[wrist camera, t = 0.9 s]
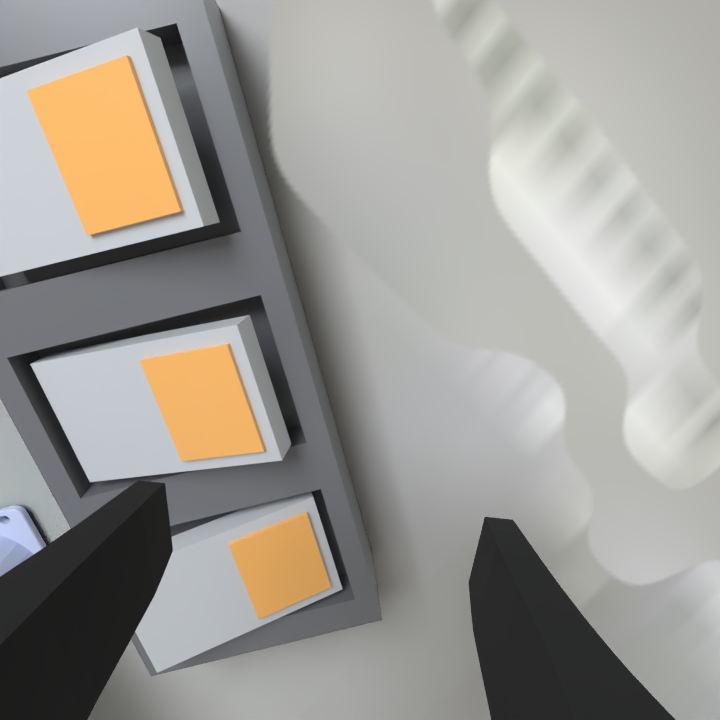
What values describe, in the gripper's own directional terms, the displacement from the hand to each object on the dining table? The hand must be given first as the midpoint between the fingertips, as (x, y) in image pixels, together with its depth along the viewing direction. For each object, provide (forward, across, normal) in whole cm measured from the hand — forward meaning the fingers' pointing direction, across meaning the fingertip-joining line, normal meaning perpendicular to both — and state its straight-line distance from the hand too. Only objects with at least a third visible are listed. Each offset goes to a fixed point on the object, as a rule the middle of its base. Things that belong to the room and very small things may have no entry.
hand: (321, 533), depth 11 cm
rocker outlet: (+8, +10, -6) cm, 15 cm away
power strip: (+13, +8, +3) cm, 15 cm away
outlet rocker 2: (+7, +5, +11) cm, 14 cm away
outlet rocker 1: (+8, +7, +2) cm, 11 cm away
